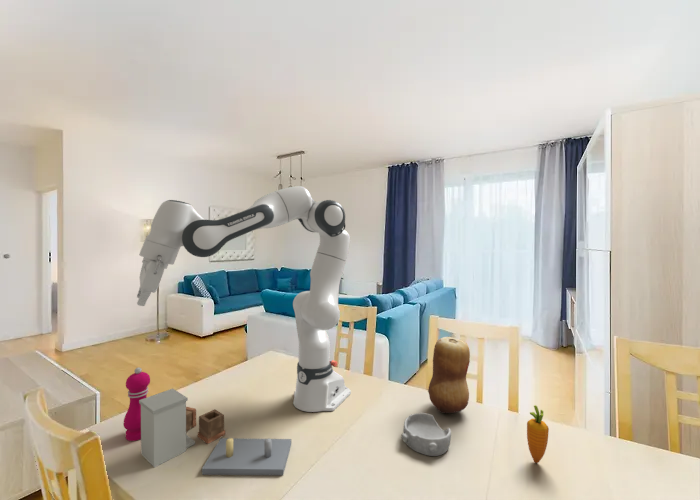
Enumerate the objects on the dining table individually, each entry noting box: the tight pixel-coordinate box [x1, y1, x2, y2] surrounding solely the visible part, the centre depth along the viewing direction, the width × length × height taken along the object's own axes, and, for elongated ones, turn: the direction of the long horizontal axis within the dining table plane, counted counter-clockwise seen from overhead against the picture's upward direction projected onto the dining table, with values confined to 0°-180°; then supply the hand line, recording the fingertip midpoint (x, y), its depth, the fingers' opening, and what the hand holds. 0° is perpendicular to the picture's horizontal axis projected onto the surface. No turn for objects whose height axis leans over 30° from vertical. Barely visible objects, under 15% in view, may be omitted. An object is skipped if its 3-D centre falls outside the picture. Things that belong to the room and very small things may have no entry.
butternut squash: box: [427, 336, 471, 414], centre depth 111 cm, size 14×13×25 cm
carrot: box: [526, 404, 550, 464], centre depth 86 cm, size 5×5×15 cm
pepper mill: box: [123, 367, 151, 442], centre depth 94 cm, size 7×7×20 cm
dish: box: [401, 412, 452, 457], centre depth 94 cm, size 14×14×5 cm
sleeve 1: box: [186, 406, 197, 433], centre depth 98 cm, size 6×6×5 cm
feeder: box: [139, 388, 196, 468], centre depth 88 cm, size 11×9×15 cm
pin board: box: [201, 437, 292, 476], centre depth 86 cm, size 12×20×6 cm, turn 91°
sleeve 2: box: [197, 409, 226, 445], centre depth 95 cm, size 6×6×6 cm
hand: (140, 301), depth 89 cm, fingers open, 8 cm apart
